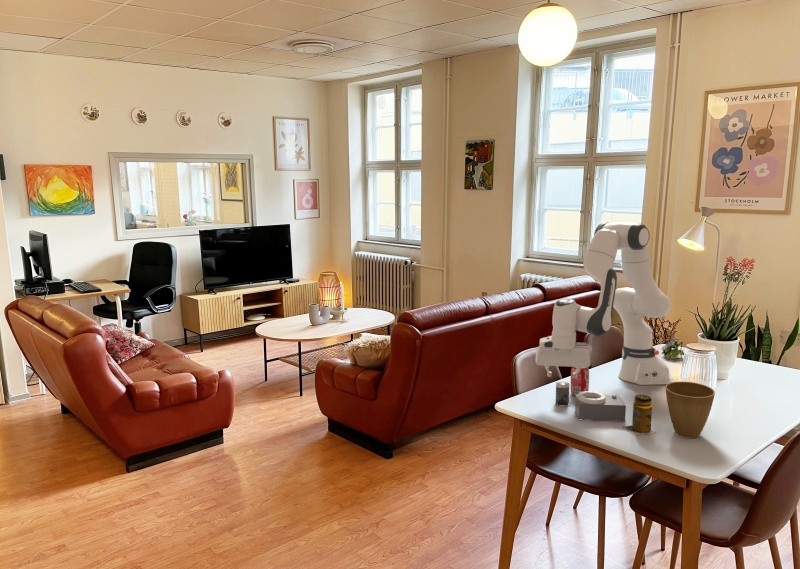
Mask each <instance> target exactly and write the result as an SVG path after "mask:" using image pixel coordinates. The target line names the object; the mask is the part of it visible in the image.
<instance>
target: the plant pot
mask: <svg viewBox="0 0 800 569" xmlns="http://www.w3.org/2000/svg"><path fill="white" fill-rule="evenodd" d="M665 394H666V403H667V409H668V412H669V413H668V414H669V417H670V421H671V425H672V427H673V430H674V432H675V434H676V435H678V436H679V437H681V438H686V439H697V438H699V437H700V436H701V434H702V432H703V431H704V428H705V425H706V424H707V422H708V418H709V415H710V412H711V410H712V407H713V403H714V399H715V396H716V391H715V389H714V388H712V387H710V386H708V385H705V384H702V383H698V382H691V381H675V382H672V383H669V384H665Z"/></svg>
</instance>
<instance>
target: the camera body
mask: <svg viewBox="0 0 800 569" xmlns="http://www.w3.org/2000/svg"><path fill="white" fill-rule="evenodd" d="M574 396H575V397H574V398H575V399H574V411H575V410H576V411H575V414H576V413H577V414H576V415H577V419H578V418H579V419H582V420H581V421H597V420H598V421H599V422H600V421H601V422H604V421H605V422H624V423H625V422H626V417H627V416H626V415H627V414H626V412H627V405H626V403H625V401H624V399H623V398H622V396H621V395H617V394H615V393H612V394H610V395H609V394H607V395H606V394H603V393H601V392H599V391H593V390H592V391H591V390H589V391H584V392H580V393H579V394H575V395H574ZM579 419H578V420H579Z"/></svg>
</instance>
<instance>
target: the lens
mask: <svg viewBox="0 0 800 569" xmlns="http://www.w3.org/2000/svg"><path fill="white" fill-rule="evenodd" d="M554 402H555V405H557V404H558V405H557V406H560V405H567V406H569V405H570V383H569V382H568V381H567V382H566V381H557V382H555V401H554ZM568 404H569V405H568Z"/></svg>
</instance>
